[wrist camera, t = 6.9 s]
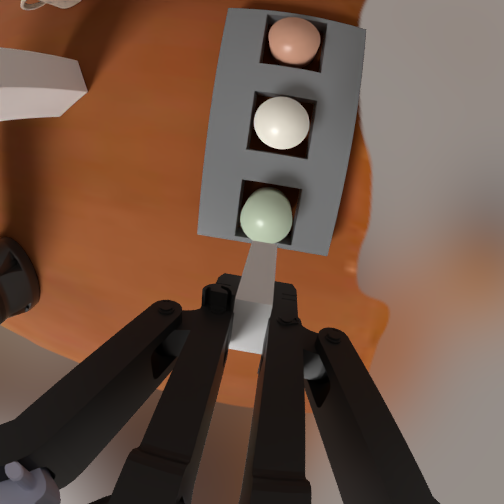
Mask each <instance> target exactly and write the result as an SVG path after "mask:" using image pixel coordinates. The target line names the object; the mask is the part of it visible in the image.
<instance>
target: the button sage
mask: <svg viewBox="0 0 504 504" xmlns="http://www.w3.org/2000/svg"><path fill="white" fill-rule="evenodd" d="M240 222H241V226H242V229H243V231H244V233H245V234H246V235H247V236H248V237H249V238H250V239H251V240H253V241H259V242H265V243H271V244H273V243H276V242H279V241H281V240H282V239H283V238H284V237H286V235H287V234H288V233H289V231H290V229H291V226H292V212H291V205H290V202H289V199H288V198H287V196H286V195H285V194H284V193H283V192H282V191H280V190H278V189H276V188H272V187H263V188H260V189H257V190H256V191H254V192H253V193H252V194H251V195H250V196H249V198H248V200H247V201H246V203H245V205H244V207H243V209H242V212H241V216H240Z"/></svg>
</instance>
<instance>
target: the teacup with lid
mask: <svg viewBox="0 0 504 504" xmlns="http://www.w3.org/2000/svg"><path fill="white" fill-rule="evenodd" d="M26 1H27V0H21V8H22V9H24V10H34V9H37V8H40V7H42V6H43V5H45V4H46V3H48V4H51V5H54V6H56V7H59V8H63V9H64V8H69V7H72V6H74V5H76V4H77V3H79V2H80V1H82V0H39V1H40V2H38V3H35V4H26V3H25V2H26Z"/></svg>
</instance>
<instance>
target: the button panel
mask: <svg viewBox="0 0 504 504" xmlns="http://www.w3.org/2000/svg"><path fill="white" fill-rule="evenodd" d="M287 17H297V18H302V19H305V20H307V21H309V22H310V23H312V24H313V25H314V26H315V27H316V29H317V30H318V32H321V33H323V41H322V49H321V57H320V64H319V72H314V71H309V70H304V69H298V68H292V67H286V66H279V65H271V64H263V63H262V62H263V56H264V49H265V43H266V37H267V31H268V25H269V24H270V25H274V24H275V23H276V22H277V21H279V20H281V19H283V18H287ZM365 37H366V29H362V28H359V27H355V26H352V25H348V24H344V23H340V22H336V21H332V20H327V19H322V18H317V17H312V16H307V15H301V14H294V13H287V12H279V11H270V10H259V9H243V8H228V13H227V17H226V22H225V27H224V32H223V38H222V43H221V48H220V54H219V59H218V65H217V71H216V77H215V84H214V90H213V97H212V103H211V110H210V118H209V125H208V133H207V141H206V149H205V158H204V167H203V176H202V186H201V196H200V208H199V220H198V233H197V234H199V235H205V236H211V237H217V238H223V239H229V240H235V241H241V242H247V243H252V241H253V240H251V239H250V238H249V237H248V236H247V235H246V234H245V233H244V231H243V229H242V228H241V227H239V221H240V213H241V206H242V198H243V191H244V183H245V180H250V181H257V182H263V183H269V184H275V185H281V186H287V187H293V188H298V189H299V195H298V200H297V206H296V211H295V216H294V221H293V226H292V231H291V236H289V235H286V237H284V238H283V239H282V240H281V241H279V242H276V243H273V244H277V248H283V249H289V250H295V251H300V252H306V253H312V254H318V255H324V256H327V255H328V251H329V247H330V243H331V239H332V235H333V231H334V227H335V222H336V218H337V214H338V209H339V205H340V200H341V196H342V191H343V186H344V182H345V177H346V172H347V167H348V161H349V156H350V151H351V145H352V139H353V133H354V127H355V121H356V115H357V108H358V101H359V94H360V86H361V78H362V69H363V60H364V49H365ZM257 95H259V96H267V97H288V98H291V99H294V100H296V101H298V102H304V103H309V104H314V106H313V113H312V119H311V125H310V132H309V138H308V144H307V150H306V156H305V158H304V157H299V156H293V155H288V154H282V153H276V152H270V151H263V150H256V149H249V148H250V141H251V134H252V127H253V120H254V114H255V107H256V100H257Z"/></svg>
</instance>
